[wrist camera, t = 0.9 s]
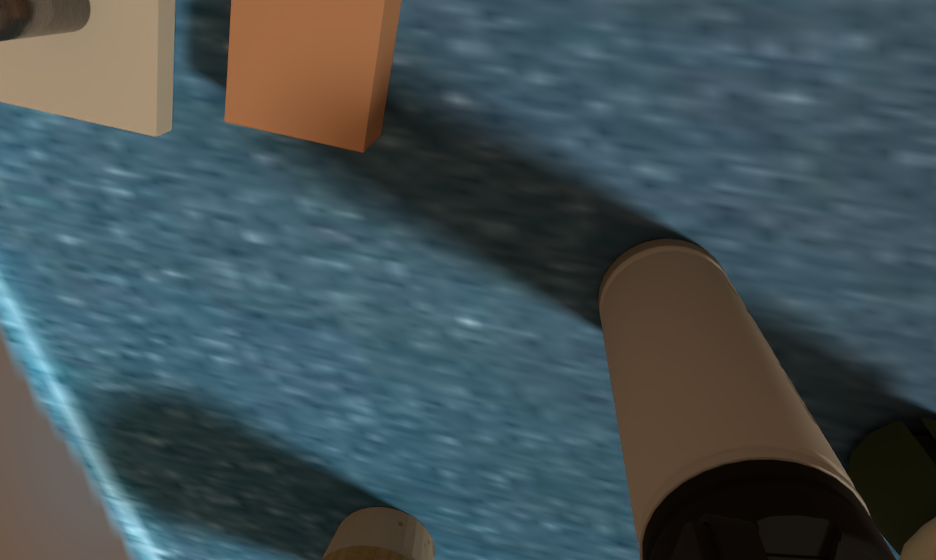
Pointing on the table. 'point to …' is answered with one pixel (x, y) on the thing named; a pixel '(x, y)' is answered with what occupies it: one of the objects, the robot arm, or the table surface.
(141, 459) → the table surface
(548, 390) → the table surface
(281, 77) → the shelf board
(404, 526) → the coffee cup
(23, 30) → the steel pegs
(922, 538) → the character mug
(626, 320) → the travel mug
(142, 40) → the peg base
